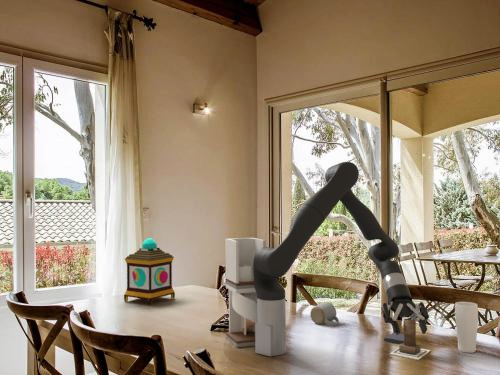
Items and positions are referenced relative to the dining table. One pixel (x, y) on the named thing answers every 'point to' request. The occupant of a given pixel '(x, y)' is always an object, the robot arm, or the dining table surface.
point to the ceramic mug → (324, 314)
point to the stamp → (410, 338)
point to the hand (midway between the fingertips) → (411, 333)
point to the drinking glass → (466, 325)
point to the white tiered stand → (241, 289)
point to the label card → (416, 357)
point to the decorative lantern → (149, 273)
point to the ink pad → (395, 338)
